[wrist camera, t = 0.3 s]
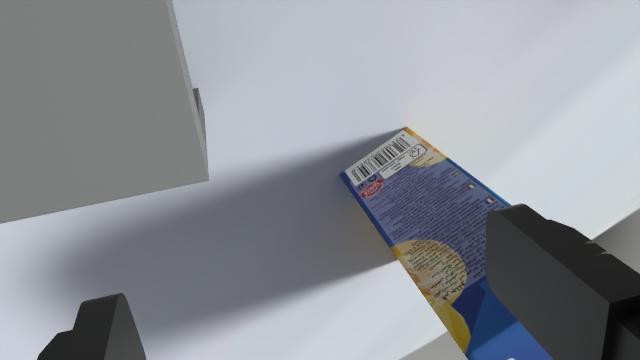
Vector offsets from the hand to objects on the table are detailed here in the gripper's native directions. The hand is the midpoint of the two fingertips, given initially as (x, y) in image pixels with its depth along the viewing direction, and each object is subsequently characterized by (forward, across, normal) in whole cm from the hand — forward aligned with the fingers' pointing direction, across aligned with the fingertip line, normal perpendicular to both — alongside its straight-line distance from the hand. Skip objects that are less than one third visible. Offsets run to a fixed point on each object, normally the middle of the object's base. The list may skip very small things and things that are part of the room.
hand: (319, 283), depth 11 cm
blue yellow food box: (+29, -12, +14) cm, 34 cm away
